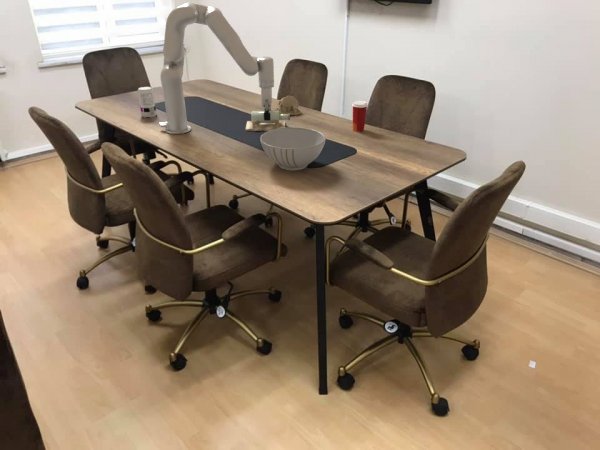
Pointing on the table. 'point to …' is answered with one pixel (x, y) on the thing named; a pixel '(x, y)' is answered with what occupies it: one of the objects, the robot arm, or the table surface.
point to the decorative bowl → (292, 146)
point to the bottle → (273, 116)
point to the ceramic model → (288, 106)
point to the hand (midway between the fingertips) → (267, 117)
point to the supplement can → (147, 102)
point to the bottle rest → (264, 125)
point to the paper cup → (359, 115)
